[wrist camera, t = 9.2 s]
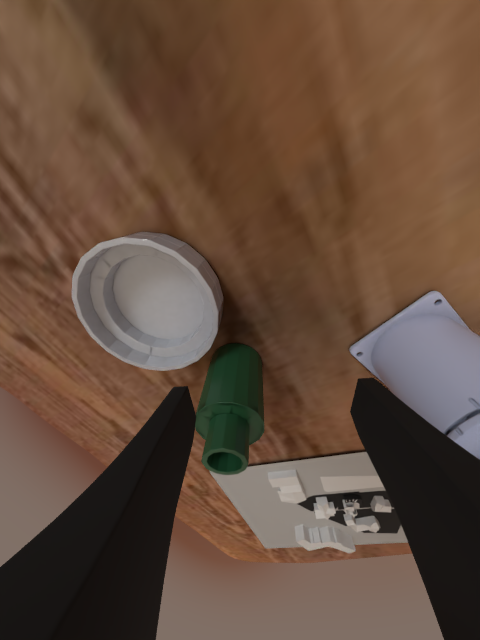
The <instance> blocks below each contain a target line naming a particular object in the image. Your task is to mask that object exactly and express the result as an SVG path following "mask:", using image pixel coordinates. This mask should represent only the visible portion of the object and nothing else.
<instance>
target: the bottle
mask: <svg viewBox="0 0 480 640" xmlns="http://www.w3.org/2000/svg"><path fill="white" fill-rule="evenodd" d="M195 428H196V431H197V432H198V433H199V434H200V435H201V437H202V438H203V439H205V440H206V442H205V446H204V451H203V456H202V463H203V465H204V466H205V467H206V468H207V469H208V470H210V471H212V472H214V473H216V474H222V475H235V474H239V473H241V472H243V471H245V470H246V468H247V466H248V460H249V445H251V444H253V443H254V442H256V441H257V440H259V439H260V437H261V436H262V434H263V433H264V406H263V377H262V361H261V358H260V356H259V354H258V353H257V352H256V351H255V350H254V349H253V348H251V347H249V346H247V345H244V344H239V343H231V344H227V345H224V346H222V347H220V348H219V349H217V350H216V351H215V353H214V354H213V356H212V360H211V362H210V366H209V369H208V373H207V376H206V380H205V384H204V387H203V391H202V394H201V398H200V401H199V405H198V408H197V412H196V423H195Z"/></svg>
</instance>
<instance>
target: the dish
mask: <svg viewBox="0 0 480 640" xmlns="http://www.w3.org/2000/svg"><path fill="white" fill-rule="evenodd" d="M72 299H73V302H74V306H75V309H76V312H77V315H78V318H79V319H80V321H81V322H82V324H83V326H84V327H85V329H86V330H87V332H88V333H89V335H90V336H91V337H92V338H93V339H94V340H95V341H96V342H97V343H98V344H99V345H100V346H101V347H102V348H104V349H105V350H106V351H107V352H109V353H110V354H112V355H114V356H115V357H117V358H119V359H120V360H122V361H124V362H126V363H129V364H132V365H134V366H137V367H140V368H143V369H150V370H159V371H167V370H174V369H181V368H184V367H186V366H188V365H190V364H192V363H194V362H197V361H198V360H199V359H200V358H201V357H202V356H203V355H204V354H205V353H206V352H207V351H208V350H209V349H210V348H211V346H212V344H213V342H214V339H215V337H216V335H217V333H218V329H219V326H220V322H221V319H222V315H223V294H222V291H221V287H220V284H219V280H218V278H217V276H216V274H215V273H214V271H213V270H212V268H211V267H210V265H209V264H208V262H207V261H206V260H205V258H204V257H202V256H201V255H200V254H199V253H198V252H196V251H195V250H194V249H193V248H192V247H191V246H189V245H188V244H187V243H185V242H182V241H180V240H178V239H175V238H173V237H171V236H169V235H166V234H161V233H151V232H139V233H135V234H131V235H127V236H123V237H119V238H116V239H112V240H108V241H105V242H101V243H99V244H97V245H96V246H95V247H93V248H92V249H91V250H90V251H88V252H87V253H86V254H85V255H83V256H82V257H81V259H80V261H79V263H78V265H77V268H76V270H75V272H74V274H73V277H72Z"/></svg>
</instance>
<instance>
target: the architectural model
mask: <svg viewBox="0 0 480 640" xmlns="http://www.w3.org/2000/svg"><path fill="white" fill-rule="evenodd" d="M210 473H211V475H212V476H213V477H214V479H215V480H216V481H217V483H218V484H219V485H220V487H221V488H222V490H223V491H224V492H225V494H226V495H227V496H228V498H229V499H230V500H231V502H232V503H233V505H234V506H235V507H236V509H237V510H238V511H239V513H240V514H241V515H242V517H243V518H244V520H245V521H246V522H247V524H248V525H249V526H250V528H251V529H252V530H253V532H254V533H255V535H256V536H257V537H258V539H259V540H260V541H261V543H262V544H263V545H264V547H265V548H287V547H304V548H305V549H307V550H308V551H311V550H315V549H319V548H324V547H328V546H329V547H332V548H335V549H338V550H341V551H344V552H347V553H351V552H354V551H356V550H355V547H354V545H359V544H383V543H407V542H408V541H407V538H406V536H405V533H404V531H403V528H402V526H401V523H400V521H399V518H398V516H397V514H396V511H395V509H394V507H393V505H392V503H391V500H390V498H389V496H388V494H387V492H386V490H385V488H384V486H383V484H382V482H381V480H380V478H379V476H378V474H377V472H376V470H375V468H374V466H373V464H372V462H371V460H370V458H369V456H368V454H367V452H361V453H353V454H345V455H337V456H329V457H321V458H313V459H305V460H297V461H289V462H281V463H274V464H266V465H258V466H250V467H247V468H246V470H245V471H243V472H241V473H239V474H235V475H222V474H216V473H214V472H212V471H210Z"/></svg>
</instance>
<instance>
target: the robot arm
mask: <svg viewBox="0 0 480 640" xmlns="http://www.w3.org/2000/svg"><path fill="white" fill-rule="evenodd" d="M436 300H438V301H437V302H436V303H435V301H436ZM349 351H350V353H351V354H352V355H353V356H354V357H355V358H356V359H357V360H358V361H359V362H361V363H362V364H363V365H364V366H365V367H366V368H367V369H368V370H369V371H370V372H372V373H373V374H374V375H375V376H376V377H377V378H378V379H379V380H380V381H382V382H383V383H384V384H385V385H386V386H387V387H388V388H389V390H390V391H391V392H390V391H389V390H388V389H387V388H385V387H384V386H383V385H382V384H380V383H379V382H378V381H377V380H375V379H374V378H361V379H358V382H357V386H356V390H355V394H354V398H353V402H352V407H351V411H350V412H351V415H352V418H353V421H354V424H355V427H356V429H357V432H358V435H359V437H360V439H361V441H362V444H363V446H364V448H365V450H366V452H367V454H368V456H369V458H370V460H371V462H372V464H373V466H374V468H375V470H376V472H377V474H378V476H379V478H380V480H381V482H382V484H383V486H384V488H385V490H386V492H387V494H388V496H389V498H390V500H391V503H392V505H393V507H394V509H395V511H396V514H397V516H398V518H399V521H400V523H401V526H402V528H403V531H404V533H405V536H406V538H407V541H408V543H409V546H410V548H411V551H412V553H413V556H414V559H415V561H416V564H417V566H418V569H419V572H420V574H421V577H422V580H423V582H424V585H425V587H426V590H427V593H428V595H429V599H430V601H431V604H432V607H433V610H434V612H435V615H436V618H437V621H438V624H439V626H440V629H441V632H442V635H443V637H444V640H480V336H479V335H477V334H476V333H474V332H472V331H471V330H470V329H469V328H468V327H467V325H466V324H465V323H464V322H463V320H462V319H461V318H460V317H459V315H458V314H457V313H456V312H455V310H454V309H453V308H452V307H451V305H450V304H449V303H448V302H447V300H446V299H445V298H444V297H443V295H442V294H441V293H439V292H437V291H431V292H429V293H427V294H426V295H424V296H423V297H421V298H420V299H419V300H417V301H416V302H414V303H413V304H411V305H410V306H408V307H407V308H406V309H404V310H403V311H401V312H400V313H398V314H397V315H395V316H394V317H393V318H391V319H390V320H388V321H387V322H385V323H384V324H382V325H381V326H380V327H378V328H377V329H375V330H374V331H372V332H371V333H369V334H368V335H367V336H365V337H364V338H362V339H361V340H359V341H358V342H356V343H355V344H354V345H352V346H351V347H350V348H349ZM359 352H361V353H360V354H357V353H359ZM195 423H196V415H195V411H194V407H193V404H192V400H191V397H190V393H189V389H188V386H184V387H173V389H172V390H171V391H170V392H169V394H168V395H167V396H166V398H165V399H164V400H163V402H162V403H161V404H160V406H159V407H158V408H157V409H156V411H155V412H154V413H153V415H152V416H151V417H150V418H149V420H148V421H147V422H146V423H145V425H144V426H143V427H142V428H141V430H140V431H139V432H138V433H137V435H136V436H135V437H134V438H133V439H132V440H131V442H130V443H129V444H128V445H127V446H126V447H125V449H124V450H123V451H122V452H121V453H120V454H119V455H118V457H117V458H116V459H115V460H114V461H113V462H112V463H111V464H110V465H109V466H108V468H107V469H106V470H105V471H104V472H103V473H102V474H101V475H100V476H99V477H98V478H97V479H96V480H95V481H94V482H93V483H92V484H91V485H90V486H89V487H88V488H87V489H86V490H85V491H84V492H83V493H82V494H81V495H80V496H79V497H78V498H77V499H76V500H75V501H74V502H73V503H72V504H71V505H70V506H69V507H68V508H67V509H66V510H65V511H63V512H62V513H61V514H60V515H59V516H58V517H57V518H56V519H55V520H54V521H53V522H52V523H50V524H49V525H48V526H47V527H46V528H45V529H44V530H43V531H41V532H40V533H39V534H38V535H37V536H36V537H35V538H33V539H32V540H31V541H30V542H29V543H28V544H27V545H25V546H24V547H23V548H22V549H21V550H20V551H19V552H17V553H16V554H15V555H14V556H13V557H12V558H11V559H9V560H8V561H7V562H6V563H5V564H3V565H2V566H1V567H0V640H156V633H157V625H158V619H159V611H160V604H161V597H162V590H163V584H164V577H165V570H166V564H167V558H168V552H169V546H170V540H171V534H172V528H173V522H174V517H175V512H176V507H177V503H178V499H179V495H180V491H181V487H182V483H183V479H184V475H185V471H186V467H187V463H188V459H189V455H190V451H191V447H192V443H193V437H194V431H195Z"/></svg>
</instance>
